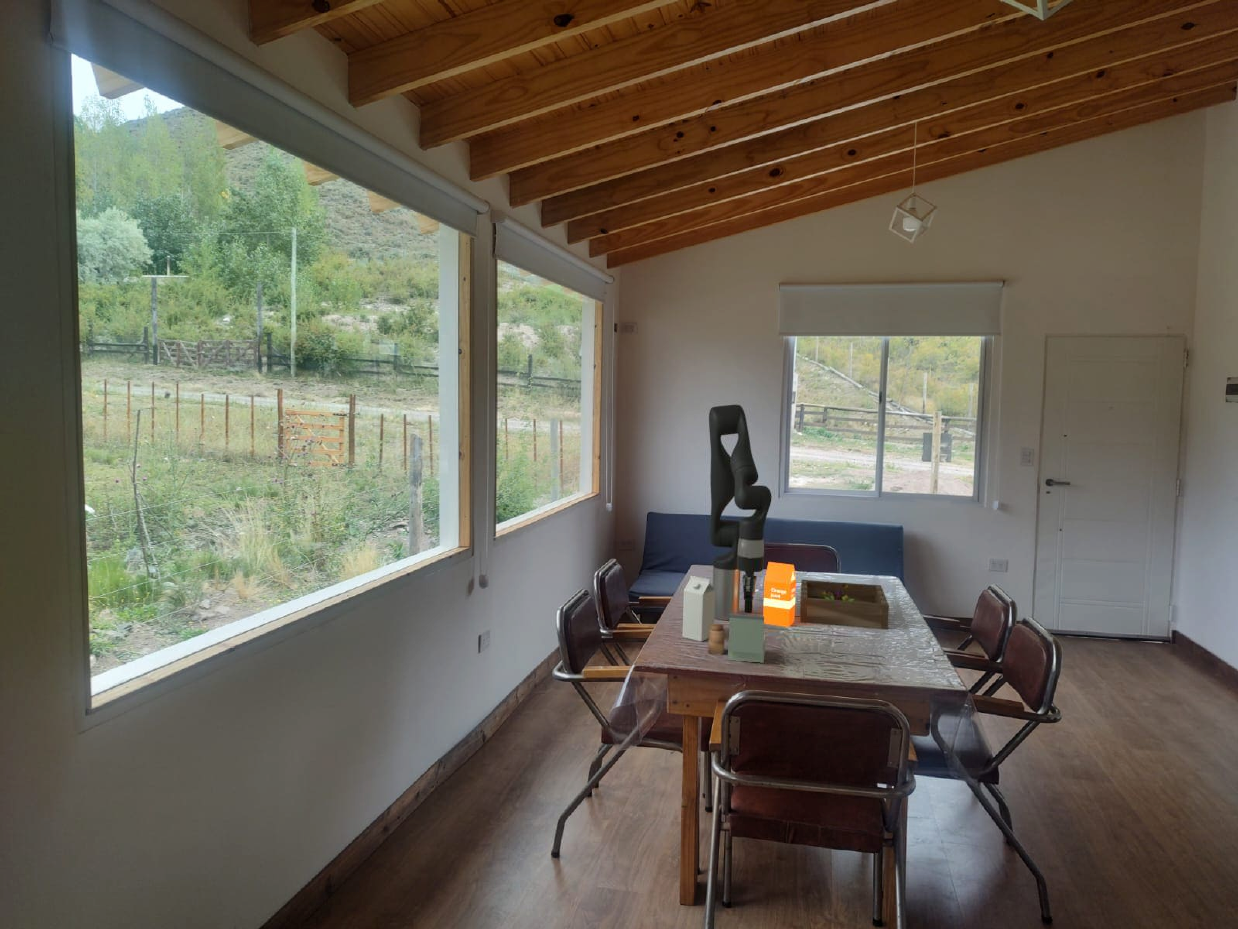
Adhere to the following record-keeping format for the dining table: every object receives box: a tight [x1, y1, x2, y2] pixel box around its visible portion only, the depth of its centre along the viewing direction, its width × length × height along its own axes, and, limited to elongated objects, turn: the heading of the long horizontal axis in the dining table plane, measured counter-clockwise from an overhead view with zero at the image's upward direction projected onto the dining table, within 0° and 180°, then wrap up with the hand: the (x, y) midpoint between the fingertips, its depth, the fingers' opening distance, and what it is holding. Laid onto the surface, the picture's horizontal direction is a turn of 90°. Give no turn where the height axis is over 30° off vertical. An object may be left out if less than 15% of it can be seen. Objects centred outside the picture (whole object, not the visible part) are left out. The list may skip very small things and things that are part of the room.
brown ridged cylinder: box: [707, 623, 726, 655], centre depth 236 cm, size 5×5×8 cm
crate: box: [727, 632, 767, 664], centre depth 233 cm, size 10×10×6 cm
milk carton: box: [682, 575, 715, 642], centre depth 250 cm, size 7×7×19 cm
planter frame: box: [799, 579, 890, 631], centre depth 279 cm, size 28×28×8 cm
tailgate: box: [728, 613, 765, 654], centre depth 227 cm, size 1×10×11 cm, turn 77°
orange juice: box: [762, 561, 797, 628], centre depth 268 cm, size 8×9×20 cm
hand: (748, 612), depth 234 cm, fingers closed
